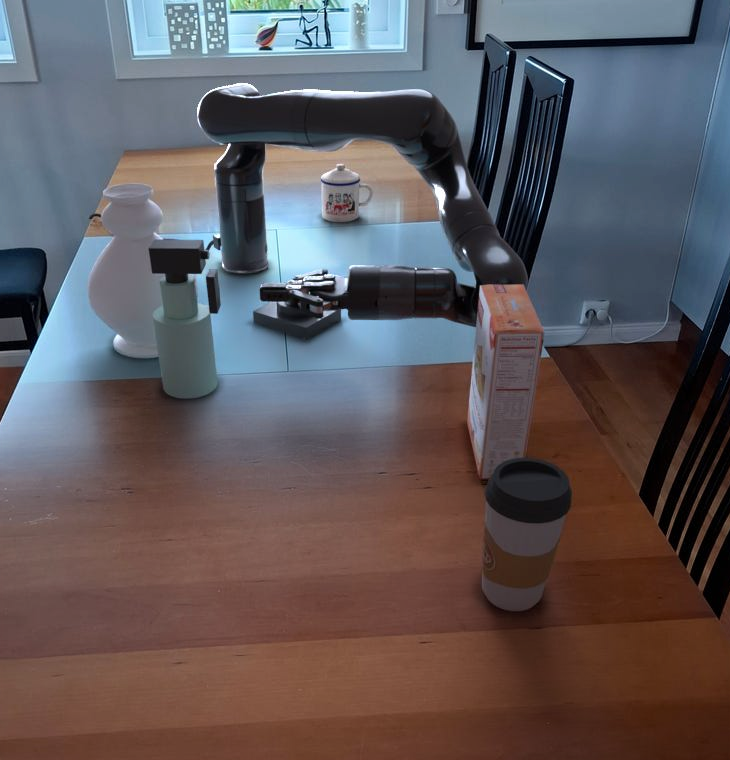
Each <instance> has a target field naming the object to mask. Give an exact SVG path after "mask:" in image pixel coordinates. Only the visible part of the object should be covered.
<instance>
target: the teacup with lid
mask: <svg viewBox="0 0 730 760" xmlns="http://www.w3.org/2000/svg"><path fill="white" fill-rule="evenodd" d="M360 181H361V176H360V174H358V173H357V172H354V171H351V170H350V169H348V168H346V165H345V164H344V163H338V164H336V166H335V168H333V169H331V170H330V171H328V172H325V173H323V174H322V175H321V177H320V182H321V217H322V218H323V219H325V220H326V221H328V222H335V223H347V222H351V221H355V220H357V219H358V218H359V216H360V208H361V207H365V206H368V205H369V203H371V201H372V199H373V195H374V193H373V192H374V191H373V188H372V186H371V185H369V184H367V183H360ZM361 188H362V189H363V188H365V189H367V190H368V191H369V195H368V198H367V199H366V201H363V202H360V189H361Z"/></svg>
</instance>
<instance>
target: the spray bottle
mask: <svg viewBox="0 0 730 760" xmlns="http://www.w3.org/2000/svg"><path fill="white" fill-rule="evenodd" d="M148 249H149V256H150V262H151V269H152V274H165V276H164V277H162V278H161V279H160V288H161V296H162V303H163V306H161V307H159V308H157V309H156V310H155V311H154V312H153V315H152V316H153V323H154V330H155V336H156V343H157V349H158V356H159V357H158V362H159V368H160V376H161V381H162V389H163V392H165V393H166V394H167V395H169V396H170V397H172V398H177V399H189V400H190V399H197V398H201V397H203V396H204V397H205V396H207V395H209V394H211V393H212V392H214V391H215V390H216V389H217V387H218V385H219V384H218V383H219V382H218V381H219V380H218V373H217V364H216V353H215V344H214V333H213V325H212V316H211V315H212V314H210V313H209V306H208V305H206V304H205V303H201V302H199V301H198V297H197V294H196V285H195V278H194V276H192V275H190V274H195V275H202V273H203V271H204V270H205V267H206V266H207V262H206V260H209V259H210V250H209V251H208V250H205V243H204V239H179V240H154V241H153V242H152V244H151V245H150V247H149V248H148Z"/></svg>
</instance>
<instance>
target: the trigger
mask: <svg viewBox="0 0 730 760" xmlns="http://www.w3.org/2000/svg"><path fill="white" fill-rule="evenodd" d="M205 284H206V293H207V302H208V307H209V313H210V314H211V315H217V314H218V313H219V311H220V309H221V306H222V303H221V302H222V301H221V291H220V281H219V271H218V268H210V269H208V272H207V274H206V276H205Z"/></svg>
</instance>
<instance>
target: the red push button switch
mask: <svg viewBox="0 0 730 760" xmlns="http://www.w3.org/2000/svg"><path fill="white" fill-rule="evenodd" d="M252 316H253V323H254V324H258V325H260V326H263V327H265V328H266V327H267V328H269V329H273V330H276V331H278V332H282V333H285V334H288V335H291V336H294V337H297V338H300V339H304V340H309V339H310V338H312V337H313V336H315V335H317V334H319V333H321V332H323V331H324V330H326V329H328V328H329V327H332V326H333V325H335V324H336V323H338V322H340V321H341V320H342V310H337V311H324V312H323V318H315V317H312V316H309V315H306V314H303V313H300V312H297V311H295V310H292V309H290V305H289V304H286V303H285V302H267V303H266V304H264V305H263V306H260V307H258V308H257V309H253V311H252Z"/></svg>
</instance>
